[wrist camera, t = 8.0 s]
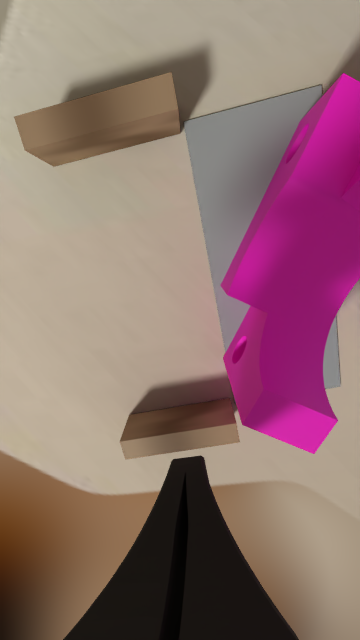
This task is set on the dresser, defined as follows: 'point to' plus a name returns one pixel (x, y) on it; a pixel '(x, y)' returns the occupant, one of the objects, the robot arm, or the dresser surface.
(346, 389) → the dresser surface
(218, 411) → the pair of brown pieces
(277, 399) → the toy block
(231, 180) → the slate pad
